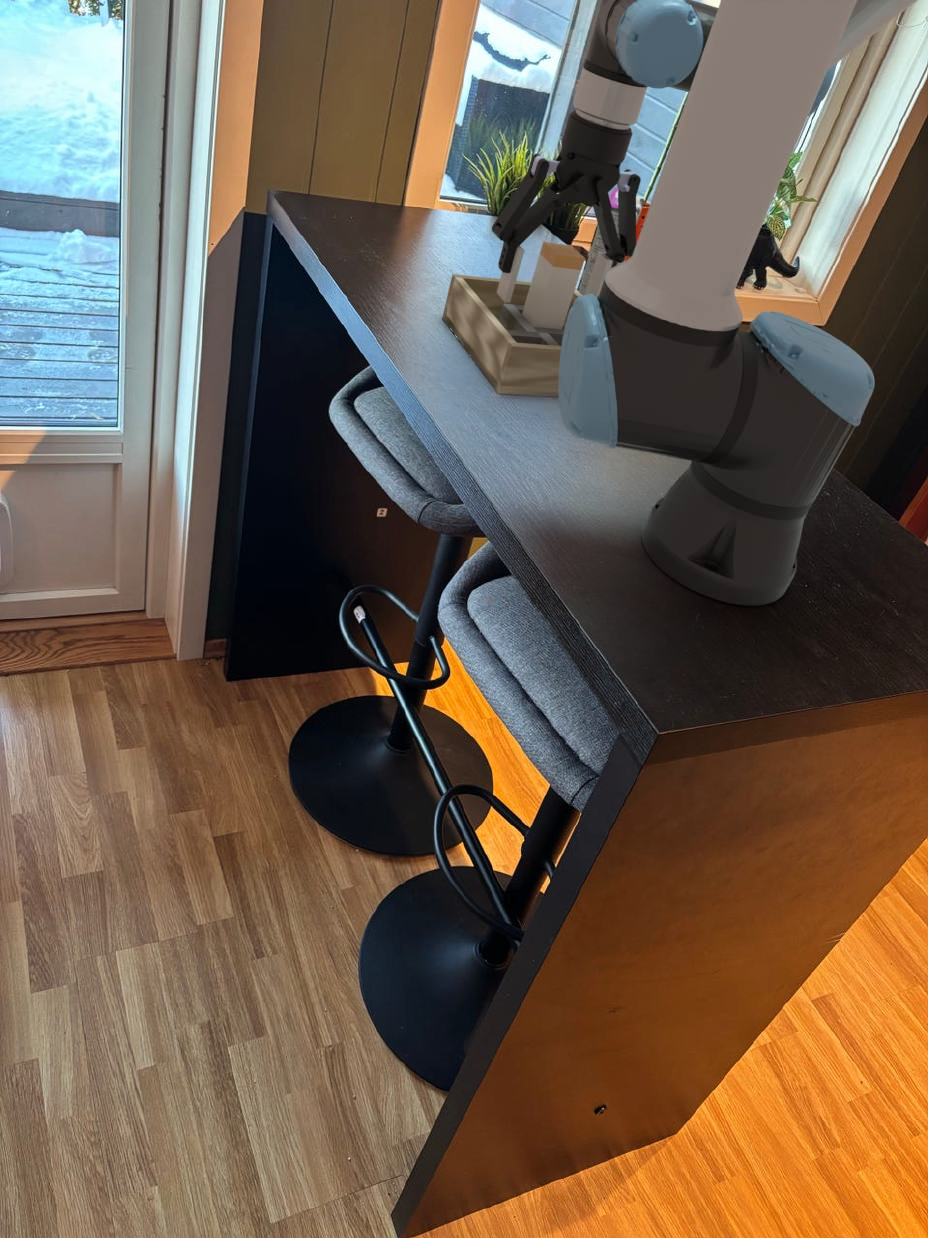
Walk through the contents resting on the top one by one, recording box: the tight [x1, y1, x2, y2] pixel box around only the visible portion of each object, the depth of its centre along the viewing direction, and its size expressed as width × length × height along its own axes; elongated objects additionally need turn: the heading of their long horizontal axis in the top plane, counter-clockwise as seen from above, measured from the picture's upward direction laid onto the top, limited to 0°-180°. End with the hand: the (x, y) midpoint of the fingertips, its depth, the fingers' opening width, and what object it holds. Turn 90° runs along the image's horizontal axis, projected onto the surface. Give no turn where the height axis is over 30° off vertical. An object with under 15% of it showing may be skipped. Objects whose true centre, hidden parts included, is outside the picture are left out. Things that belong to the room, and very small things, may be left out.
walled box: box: [441, 273, 581, 398], centre depth 120 cm, size 20×18×6 cm
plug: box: [522, 241, 586, 329], centre depth 120 cm, size 4×4×12 cm
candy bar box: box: [576, 187, 647, 295], centre depth 135 cm, size 11×5×16 cm, turn 164°
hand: (547, 302), depth 121 cm, fingers open, 12 cm apart
